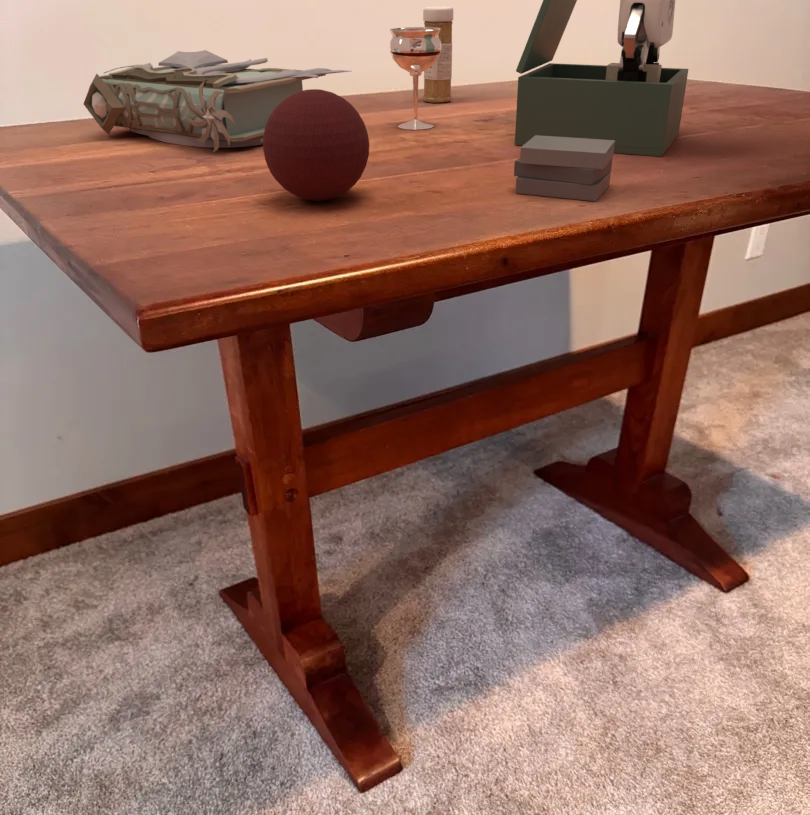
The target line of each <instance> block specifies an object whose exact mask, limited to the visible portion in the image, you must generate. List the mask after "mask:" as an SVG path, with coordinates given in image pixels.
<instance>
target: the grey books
mask: <svg viewBox="0 0 810 815" xmlns="http://www.w3.org/2000/svg"><path fill="white" fill-rule="evenodd" d="M614 146H615V140H603V139H587V138H571V137H555V136H539V135H535V136H534V137H533V138H532V139H530V140H529V141H528V142H527V143H526V144H524V145H523V146H520V154H519V158H517V159H516V160H514V167H513V176H514V177H515V194H519V195H528V196H529V195H530V196H538V197H549V198H559V199H566V200H567V199H569V200H578V201H589V202H598V200H599V198H601V197H602V195H603V194H604V193H605V192H606V191H607V190H608V188H609V187H610V182H611V174H612V167H613V166H612V165H613V158H614V154H615V153H614Z"/></svg>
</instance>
